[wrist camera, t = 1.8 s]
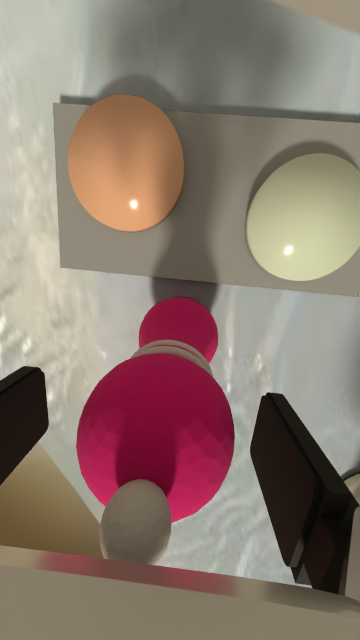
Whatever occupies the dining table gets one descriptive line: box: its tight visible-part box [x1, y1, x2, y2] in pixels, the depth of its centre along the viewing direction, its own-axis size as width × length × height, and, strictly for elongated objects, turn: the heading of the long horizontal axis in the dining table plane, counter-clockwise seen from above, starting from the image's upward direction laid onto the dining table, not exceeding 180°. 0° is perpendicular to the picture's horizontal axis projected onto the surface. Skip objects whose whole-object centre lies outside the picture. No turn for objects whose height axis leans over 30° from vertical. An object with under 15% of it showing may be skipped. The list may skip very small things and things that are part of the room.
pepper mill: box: [76, 297, 235, 565], centre depth 14 cm, size 7×7×20 cm
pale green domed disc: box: [245, 153, 360, 281], centre depth 19 cm, size 10×10×2 cm
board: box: [53, 103, 360, 297], centre depth 20 cm, size 30×14×1 cm, turn 85°
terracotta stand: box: [68, 94, 185, 233], centre depth 19 cm, size 10×10×2 cm
